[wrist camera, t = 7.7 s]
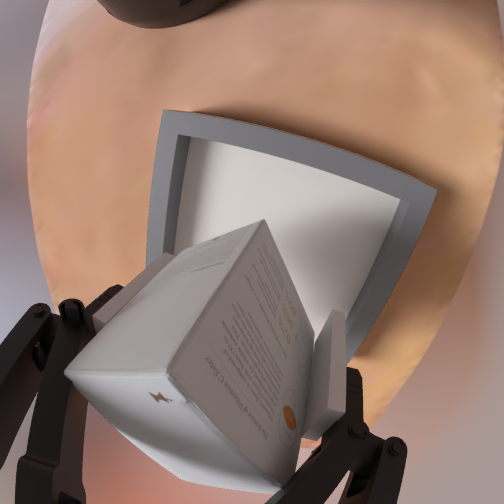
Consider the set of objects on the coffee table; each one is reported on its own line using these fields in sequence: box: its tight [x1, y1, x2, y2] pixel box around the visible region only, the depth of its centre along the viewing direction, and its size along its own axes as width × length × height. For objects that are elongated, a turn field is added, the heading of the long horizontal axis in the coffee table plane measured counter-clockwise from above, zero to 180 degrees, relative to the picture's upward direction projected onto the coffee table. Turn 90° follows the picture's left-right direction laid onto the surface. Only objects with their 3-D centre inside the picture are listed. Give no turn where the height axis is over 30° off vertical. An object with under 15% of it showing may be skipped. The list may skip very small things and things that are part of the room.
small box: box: [64, 219, 315, 494], centre depth 12 cm, size 8×6×10 cm
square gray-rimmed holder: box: [146, 110, 438, 377], centre depth 20 cm, size 18×18×4 cm
